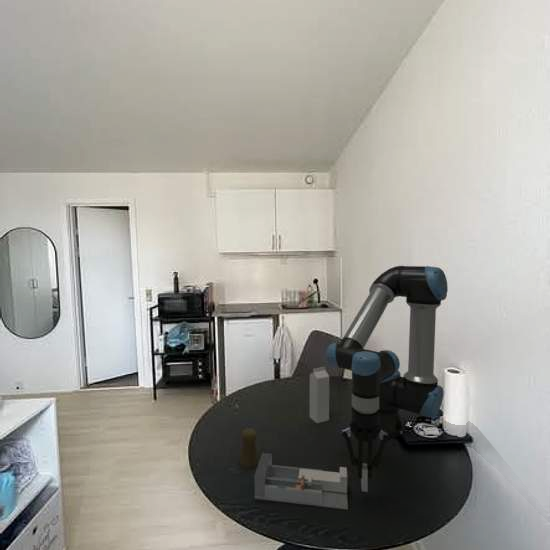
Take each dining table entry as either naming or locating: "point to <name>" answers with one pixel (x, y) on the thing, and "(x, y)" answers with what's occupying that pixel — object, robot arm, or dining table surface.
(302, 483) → the brown l-shaped block
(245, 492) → the dining table surface
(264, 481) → the gauge housing
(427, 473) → the dining table surface
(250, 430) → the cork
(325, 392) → the milk
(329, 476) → the plunger
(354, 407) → the robot arm
